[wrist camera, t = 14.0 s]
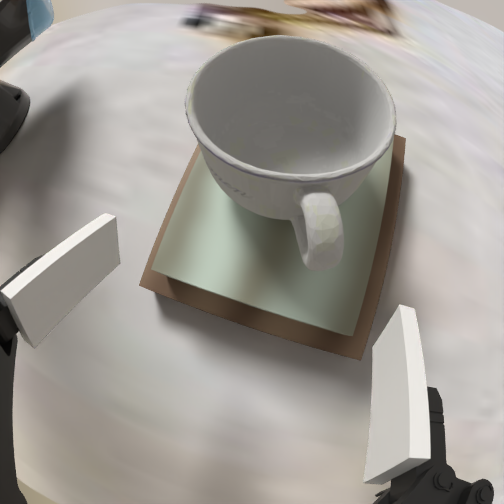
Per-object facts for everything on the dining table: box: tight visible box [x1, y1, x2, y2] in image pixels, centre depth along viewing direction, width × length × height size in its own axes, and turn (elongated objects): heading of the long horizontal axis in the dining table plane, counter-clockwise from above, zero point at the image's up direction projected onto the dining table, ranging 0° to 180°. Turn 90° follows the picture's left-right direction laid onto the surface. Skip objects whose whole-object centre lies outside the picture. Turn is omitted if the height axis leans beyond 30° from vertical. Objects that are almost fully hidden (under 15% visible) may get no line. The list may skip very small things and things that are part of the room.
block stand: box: [139, 134, 406, 360], centre depth 23 cm, size 18×20×6 cm
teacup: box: [185, 35, 396, 271], centre depth 16 cm, size 14×11×8 cm
